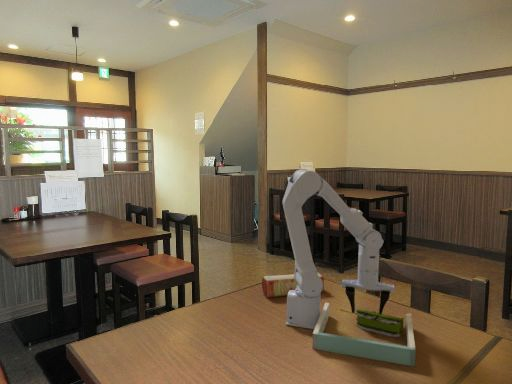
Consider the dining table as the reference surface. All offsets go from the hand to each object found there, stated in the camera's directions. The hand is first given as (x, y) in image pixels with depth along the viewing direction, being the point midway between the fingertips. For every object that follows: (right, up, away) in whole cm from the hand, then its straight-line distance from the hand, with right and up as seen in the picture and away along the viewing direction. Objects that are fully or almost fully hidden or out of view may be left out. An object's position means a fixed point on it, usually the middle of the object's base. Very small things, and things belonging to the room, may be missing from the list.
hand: (366, 313), depth 111 cm
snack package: (-20, 0, +20) cm, 28 cm away
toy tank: (-1, -3, -4) cm, 5 cm away
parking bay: (-4, -3, -11) cm, 12 cm away
